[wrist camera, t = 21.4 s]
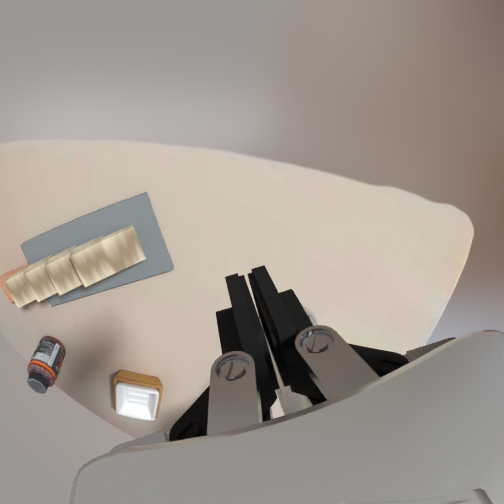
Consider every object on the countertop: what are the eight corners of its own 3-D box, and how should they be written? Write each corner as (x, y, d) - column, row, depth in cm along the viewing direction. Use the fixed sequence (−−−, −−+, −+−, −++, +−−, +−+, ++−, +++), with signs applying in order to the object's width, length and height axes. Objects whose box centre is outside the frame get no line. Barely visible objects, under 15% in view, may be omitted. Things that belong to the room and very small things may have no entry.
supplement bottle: (64, 360, 46) (50, 401, 35) (40, 349, 43) (23, 388, 33) (67, 342, 44) (50, 385, 34) (42, 330, 42) (21, 370, 32)
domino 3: (88, 277, 37) (38, 302, 34) (89, 273, 38) (39, 297, 35) (74, 247, 35) (22, 274, 31) (75, 244, 36) (25, 270, 33)
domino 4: (115, 268, 38) (59, 295, 34) (115, 264, 39) (60, 291, 35) (102, 237, 35) (44, 266, 32) (102, 235, 37) (45, 262, 33)
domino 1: (41, 294, 36) (10, 302, 36) (45, 288, 38) (14, 297, 38) (27, 268, 34) (-3, 279, 34) (32, 263, 35) (2, 275, 36)
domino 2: (63, 285, 37) (18, 308, 33) (64, 281, 38) (20, 303, 34) (49, 257, 35) (4, 282, 31) (51, 254, 36) (6, 278, 32)
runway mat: (173, 266, 42) (173, 269, 41) (53, 302, 40) (51, 306, 39) (146, 191, 37) (145, 193, 36) (23, 242, 35) (20, 245, 34)
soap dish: (116, 364, 48) (112, 382, 44) (163, 373, 51) (163, 392, 47) (116, 398, 52) (113, 415, 48) (157, 406, 55) (157, 423, 51)
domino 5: (146, 259, 38) (85, 287, 34) (144, 255, 39) (85, 282, 36) (133, 226, 36) (69, 256, 32) (132, 224, 37) (70, 252, 33)
